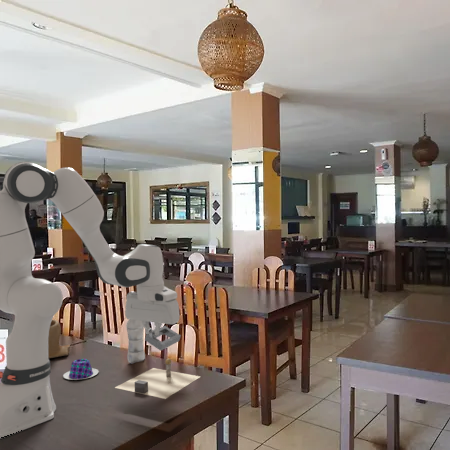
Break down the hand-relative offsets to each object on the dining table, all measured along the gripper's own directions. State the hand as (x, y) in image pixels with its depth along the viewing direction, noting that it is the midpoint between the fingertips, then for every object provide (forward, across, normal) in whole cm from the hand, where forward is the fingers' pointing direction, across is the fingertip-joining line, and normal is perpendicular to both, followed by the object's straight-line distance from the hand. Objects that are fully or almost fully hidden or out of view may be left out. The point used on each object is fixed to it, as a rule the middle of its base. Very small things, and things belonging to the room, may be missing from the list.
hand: (152, 334), depth 146 cm
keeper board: (+17, +2, -1) cm, 17 cm away
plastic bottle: (+17, -20, +14) cm, 30 cm away
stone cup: (+17, -56, +5) cm, 58 cm away
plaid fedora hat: (+17, -30, -4) cm, 34 cm away
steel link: (+2, +2, +2) cm, 4 cm away
